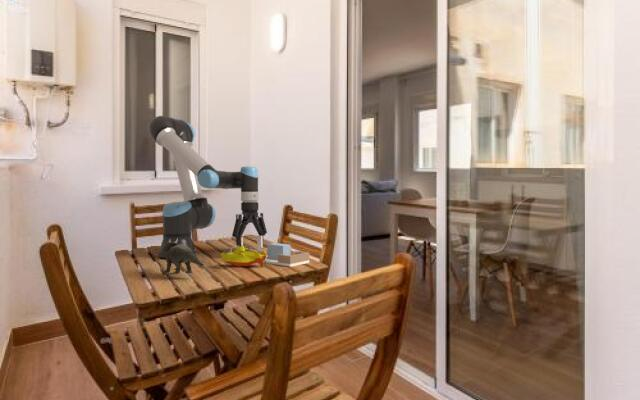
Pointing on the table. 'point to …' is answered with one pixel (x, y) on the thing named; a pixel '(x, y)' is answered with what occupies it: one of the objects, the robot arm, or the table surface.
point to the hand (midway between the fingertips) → (250, 251)
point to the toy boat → (244, 256)
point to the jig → (282, 257)
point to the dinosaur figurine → (179, 256)
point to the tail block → (277, 250)
